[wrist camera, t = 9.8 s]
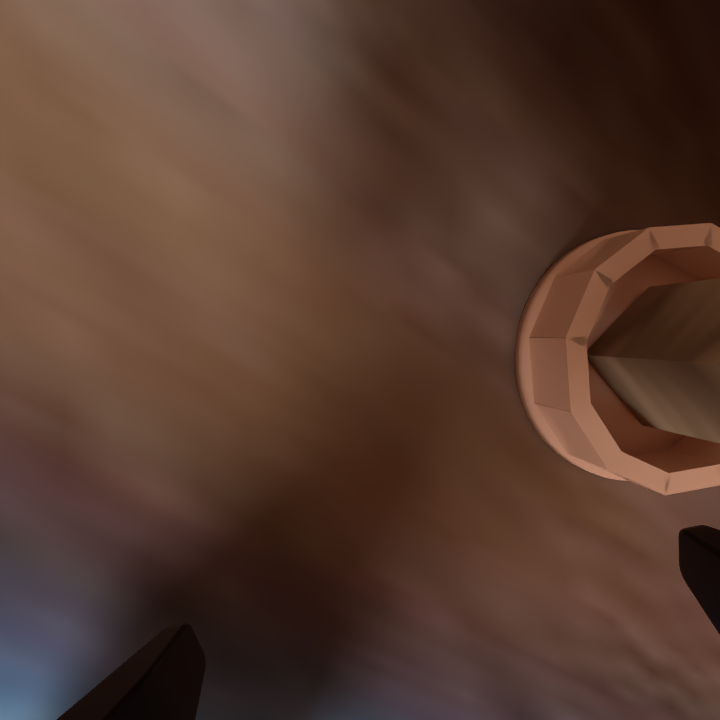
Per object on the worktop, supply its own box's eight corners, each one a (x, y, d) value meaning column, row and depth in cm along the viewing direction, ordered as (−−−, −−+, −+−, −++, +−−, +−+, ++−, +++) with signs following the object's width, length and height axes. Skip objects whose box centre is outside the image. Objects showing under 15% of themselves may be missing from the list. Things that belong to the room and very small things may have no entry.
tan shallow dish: (673, 509, 23) (740, 537, 20) (475, 421, 21) (514, 437, 18) (761, 296, 24) (841, 291, 21) (574, 190, 22) (630, 165, 18)
